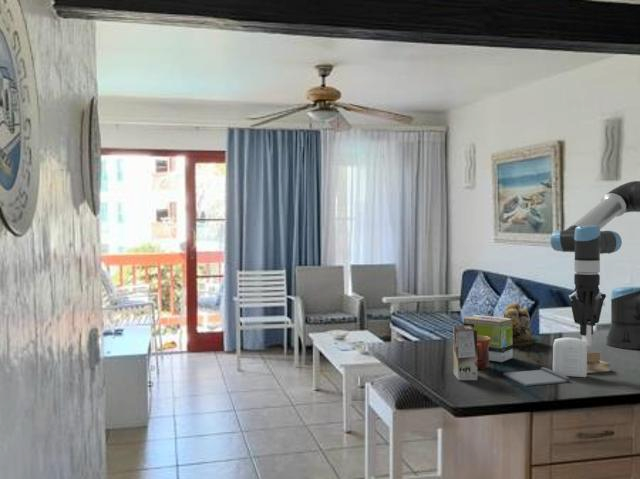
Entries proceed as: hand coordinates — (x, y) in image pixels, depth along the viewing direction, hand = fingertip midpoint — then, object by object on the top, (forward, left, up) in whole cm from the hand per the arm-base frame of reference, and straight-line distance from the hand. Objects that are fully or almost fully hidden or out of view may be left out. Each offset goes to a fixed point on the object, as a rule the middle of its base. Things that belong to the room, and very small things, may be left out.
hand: (586, 345), depth 188 cm
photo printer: (+6, 0, -10) cm, 12 cm away
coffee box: (+39, -8, -10) cm, 41 cm away
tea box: (+19, -29, -10) cm, 36 cm away
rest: (-4, -4, -10) cm, 11 cm away
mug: (+30, -16, -10) cm, 36 cm away
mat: (+19, 0, -10) cm, 21 cm away
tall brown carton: (-1, -4, -7) cm, 8 cm away
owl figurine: (-3, -45, -10) cm, 46 cm away
